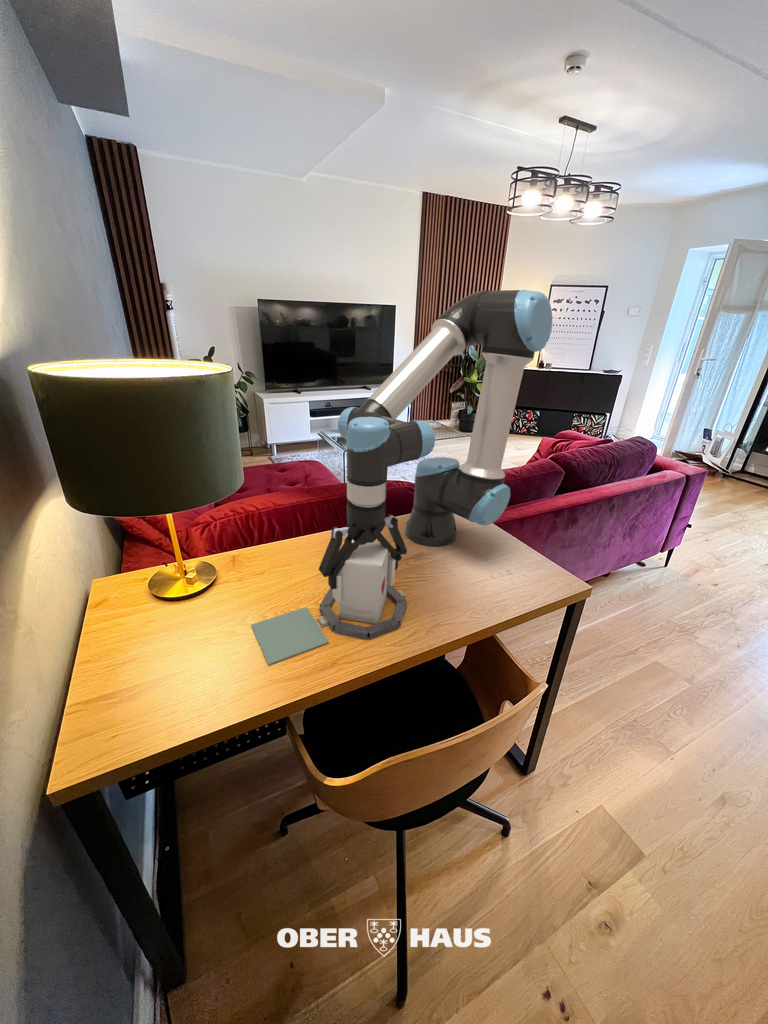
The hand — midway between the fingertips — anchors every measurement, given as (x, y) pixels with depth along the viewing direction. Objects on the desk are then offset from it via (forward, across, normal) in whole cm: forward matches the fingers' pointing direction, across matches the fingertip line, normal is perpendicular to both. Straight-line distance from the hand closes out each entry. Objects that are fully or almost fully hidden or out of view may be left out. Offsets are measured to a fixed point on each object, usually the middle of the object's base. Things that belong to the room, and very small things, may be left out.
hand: (364, 590), depth 88 cm
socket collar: (+5, 0, 0) cm, 5 cm away
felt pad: (+5, +17, 0) cm, 18 cm away
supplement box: (+5, 0, 0) cm, 5 cm away
